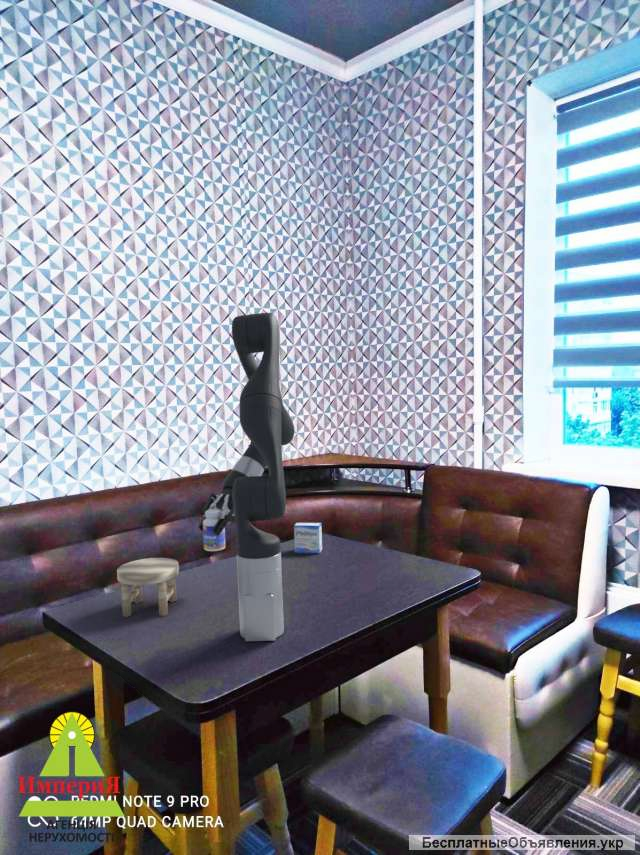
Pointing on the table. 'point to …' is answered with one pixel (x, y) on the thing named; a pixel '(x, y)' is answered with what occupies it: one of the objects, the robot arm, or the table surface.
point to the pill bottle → (210, 539)
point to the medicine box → (308, 537)
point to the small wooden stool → (148, 581)
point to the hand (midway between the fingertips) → (208, 531)
